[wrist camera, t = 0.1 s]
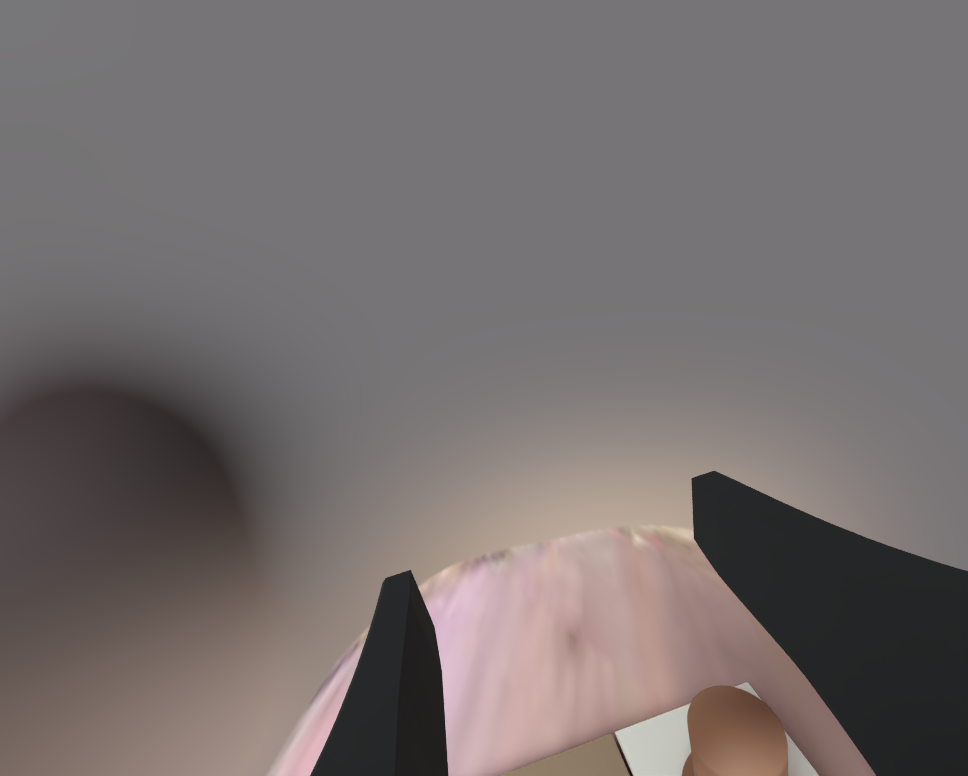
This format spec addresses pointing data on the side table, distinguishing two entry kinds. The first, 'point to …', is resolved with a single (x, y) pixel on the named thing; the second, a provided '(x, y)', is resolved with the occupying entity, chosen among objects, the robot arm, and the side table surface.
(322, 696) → the side table surface
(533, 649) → the side table surface
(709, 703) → the pawn
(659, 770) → the board
